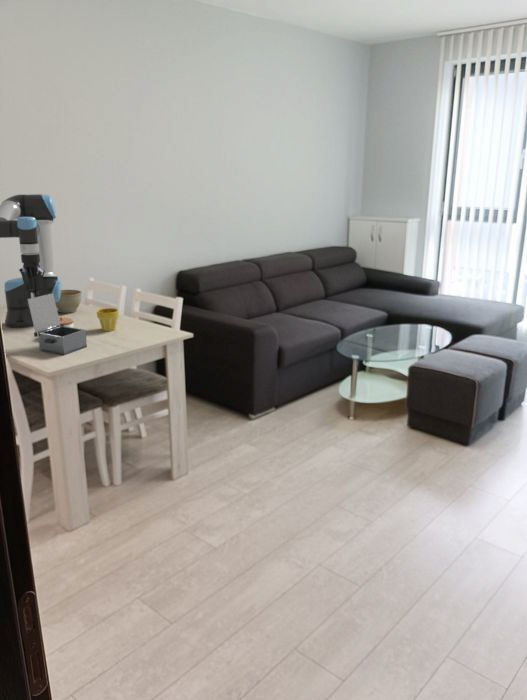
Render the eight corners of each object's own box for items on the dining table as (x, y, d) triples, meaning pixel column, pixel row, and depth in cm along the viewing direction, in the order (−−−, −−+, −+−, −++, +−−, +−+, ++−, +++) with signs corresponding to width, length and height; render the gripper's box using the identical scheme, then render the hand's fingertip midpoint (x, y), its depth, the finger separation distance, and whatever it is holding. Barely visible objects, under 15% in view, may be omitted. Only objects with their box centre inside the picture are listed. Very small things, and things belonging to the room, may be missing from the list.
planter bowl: (77, 315, 315) (76, 295, 311) (48, 314, 315) (46, 295, 312) (86, 308, 330) (85, 289, 327) (58, 307, 330) (57, 289, 327)
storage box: (34, 351, 252) (32, 332, 249) (63, 341, 267) (62, 323, 264) (61, 356, 246) (59, 337, 243) (89, 345, 260) (87, 328, 258)
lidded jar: (61, 340, 268) (59, 321, 265) (46, 337, 273) (44, 317, 270) (79, 335, 277) (77, 316, 274) (64, 332, 282) (62, 313, 279)
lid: (37, 333, 250) (33, 333, 252) (61, 326, 262) (57, 326, 264) (29, 299, 247) (25, 299, 248) (53, 293, 259) (49, 293, 260)
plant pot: (114, 332, 282) (112, 313, 279) (94, 331, 284) (93, 312, 281) (123, 327, 292) (121, 308, 289) (104, 326, 293) (102, 307, 291)
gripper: (12, 253, 249) (18, 306, 256) (34, 255, 243) (40, 310, 250) (26, 251, 255) (31, 303, 262) (47, 253, 250) (53, 306, 257)
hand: (35, 306), depth 256 cm, fingers closed
